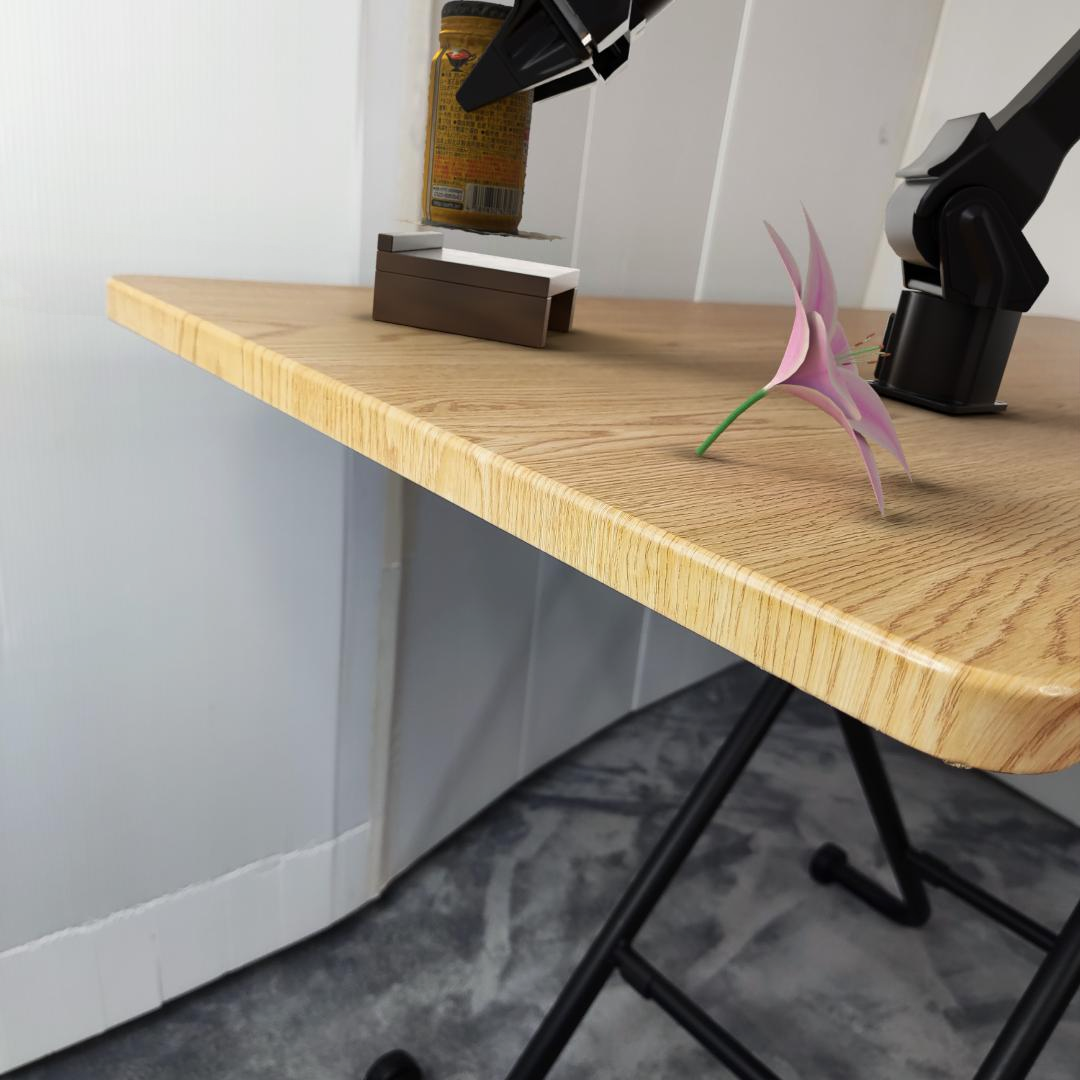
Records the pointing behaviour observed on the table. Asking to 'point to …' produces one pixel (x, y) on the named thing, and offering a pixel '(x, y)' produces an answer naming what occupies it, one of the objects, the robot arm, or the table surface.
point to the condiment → (473, 135)
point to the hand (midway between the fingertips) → (469, 109)
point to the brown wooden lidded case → (470, 291)
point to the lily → (826, 363)
